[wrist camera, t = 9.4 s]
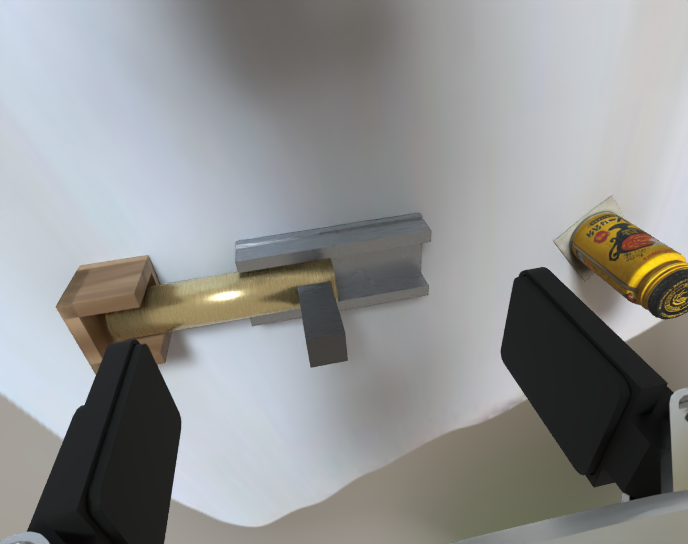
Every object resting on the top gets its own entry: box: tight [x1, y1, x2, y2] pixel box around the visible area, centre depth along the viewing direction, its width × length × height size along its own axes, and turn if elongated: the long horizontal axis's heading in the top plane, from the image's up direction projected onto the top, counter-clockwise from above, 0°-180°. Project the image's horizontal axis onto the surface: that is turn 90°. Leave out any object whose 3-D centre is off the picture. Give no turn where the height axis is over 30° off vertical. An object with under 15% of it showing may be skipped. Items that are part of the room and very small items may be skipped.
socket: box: [56, 255, 172, 374], centre depth 39 cm, size 8×6×6 cm
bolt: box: [105, 258, 348, 368], centre depth 37 cm, size 4×20×11 cm, turn 94°
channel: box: [235, 213, 431, 326], centre depth 42 cm, size 8×18×3 cm, turn 94°
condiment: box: [554, 196, 688, 319], centre depth 44 cm, size 7×8×12 cm
